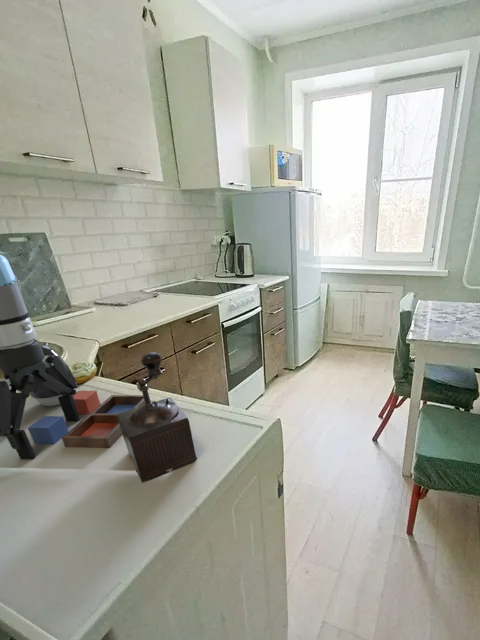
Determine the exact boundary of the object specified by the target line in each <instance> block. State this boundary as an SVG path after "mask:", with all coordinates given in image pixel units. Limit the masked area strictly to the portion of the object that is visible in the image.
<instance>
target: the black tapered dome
mask: <svg viewBox="0 0 480 640" xmlns="http://www.w3.org/2000/svg"><path fill="white" fill-rule="evenodd" d="M40 345H41V348H42V351H43V353H44V356H55V358H56V360H57V362H58V364H59V365H60V366H61V367H62V368H63V370H64V371H65V372H66V373H67V374H68V375H69V376H70V377H71V378H72V379H73V380H74V382H75V383H76V384H77V382H76V379H75V377H74V375H73V374H72V372H71V370H70V368H69V367H68V365H69V364H67V362H66V361H65V360H64V359H63V357H62V356H61V355H60V353H58V352H57V351H56V350H54V349H53V348H52V347H51V346H49V343H48V342H43V343H42V344H40ZM45 372H46V373H47V374H49V375H51V374H50V373H49V372H48V371H47V370H46V369H45ZM51 376H52V375H51ZM52 377H53V376H52ZM53 379H55V378H54V377H53ZM55 380H56V379H55ZM77 385H78V384H77ZM74 390H76V391H77V388H76V389H74ZM29 396H31V398H33V399H34V400H35V401H36V402H37V403H38V404H39V405H42V406H45V407H54V406H59V405H60V402H59V400H58V397H60V396H62V395H60V394H58V393H56V392H55V391H53V390H51V389H49V388H47V387H46V386H44V385H42V386H41V387H37V388H36V389H35V390H34V391H32V392H30V395H29ZM60 406H61V405H60Z"/></svg>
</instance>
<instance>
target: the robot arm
mask: <svg viewBox="0 0 480 640" xmlns="http://www.w3.org/2000/svg"><path fill="white" fill-rule="evenodd" d="M36 338H37V333H36V330H35V327H34V325H33V323H32V320H31V317H30V314H29V311H28V308H27V306H26V303H25V300H24V297H23V295H22V291H21V289H20V287H19V284H18V278H17V276H16V275H15V273H14V271H13V269H12V267H11V265H10V263H9V260H8V258H6V257H5V255H2V254H0V371H2V373H3V379H0V438H1V437H3V438H5V437H6V439H7V442H8V443H9V445H10V447H11V449H12V450H15V451H16V453H17V455H18V458H19V459H20V460H35V458H37V456H36V453H35V451H34V449H33V447H32V444H31V442H30V440H29V437H28V436H27V433H26V431H25V429H21V425H22V420H23V416H24V412H25V407H26V401H27V399H28V398H29V397H30V396H31V395H30V392H32V391H34V390H35V389H36V388H37V387H41V386H42V385H44V386H46V387H47V388H49V389H51V390H53V391H55V392H56V393H58V394H60V395H62V396H60V397H58V400H59V402H60V408H61V409H62V413H63V416H64V419H65V422H67V423H70V422H71V423H78V422H80V420H81V419H80V416H79V414H78V413H77V410H76V408H75V407H76V404H75V401H74V398H73V395H76V392H77V388H78V384H76V383H75V382H74V380H73V379H72V378H71V377H70V376H69V375H68V374H67V373H66V372H65V371H64V370H63V368H62V367H61V366H60V365H59V364H58V362H57V360H56V358H55V356H44V353H43V351H42V348H41V345H42V344H41V343H40V341H39V340H37V339H36ZM45 369H46V370H47V371H48V372H49V373H50V374H51V375H52V376H53V377H54V378H55V379H56V380H55V379H53V377H52V376H51V375H49V374H47V373H46V372H45ZM74 389H76V390H74ZM17 391H18V392H17Z"/></svg>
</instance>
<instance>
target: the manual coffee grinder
mask: <svg viewBox="0 0 480 640" xmlns="http://www.w3.org/2000/svg"><path fill="white" fill-rule="evenodd" d="M162 361H163V356H162V355H161V354H160V353H158V352H155V351H153V352H152V351H151V352H147V353H145V354H143V355H142V357H141V358H140V362H141V365H142V366H144V367H145V368H146V369H147V378H140V379H138V381H137V384H136V387H137V388H136V389H138V391H139V392H141V393H142V395H143V397H144V400H145V404H144V405H142V406H140V407H138V408H134V409H131V410H128V411H125V412H123V413H120V414H117V418H118V421H119V424H120V428H121V431H122V437H123V440H124V443H125V446H126V449H127V452H128V456H129V458H130V460H131V462H132V464H133V466H134V468H135V469H136V470H134V471H135V473H136V474H137V476H138V478H139V480H140V481H141V483H145V482H147V481H151V480H153V479H155V478H156V479H157V478H158V477H160V476H164V475H166V474H169V473H171V472H173V471H175V470H177V469H181V468H183V467H185V466H187V465H190V464H192V463H194V462H196V461H197V460H198V457H197V454H196V449H195V445H194V439H193V435H192V429H191V424H190V420H189V418H188V417H187V415H186V414H185V412H184V411H183V410H182V409H181V408H180V406H178V404H177V402H176V401H174V400H173V398H172V397H167V398H163V399H160V400H157V401H156V400H154V401H151V397H150V394H149V389H150V387H149V386H148V385H147V384H148V383H149V382H151V381H152V380H154V379H155V380H157V379H158V377H160V376H161V375H163V373H164V372H163V371H162V370H161V363H162Z"/></svg>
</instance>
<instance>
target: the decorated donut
mask: <svg viewBox="0 0 480 640" xmlns="http://www.w3.org/2000/svg"><path fill="white" fill-rule="evenodd" d="M67 365H68V367H69V368H70V370H71V372H72V374H73V375H74V377H75V379H76V382H77V385H79V384H82V383H86V382H88V381H90V380H92V379H93V378H94V377H95V376H96V375H97V369H98V368H97V365H96V364H95V363H94V362H90V361H78V362H74V363H68V364H67Z"/></svg>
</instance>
